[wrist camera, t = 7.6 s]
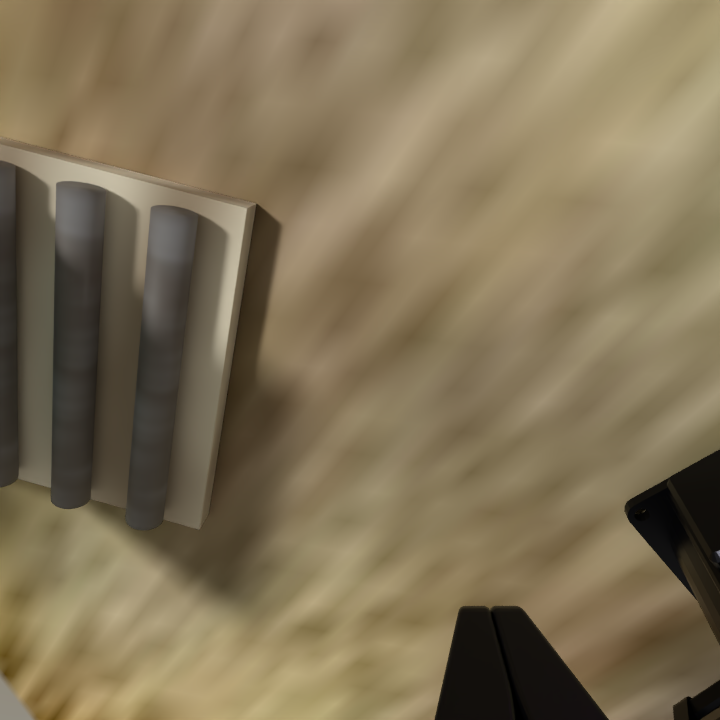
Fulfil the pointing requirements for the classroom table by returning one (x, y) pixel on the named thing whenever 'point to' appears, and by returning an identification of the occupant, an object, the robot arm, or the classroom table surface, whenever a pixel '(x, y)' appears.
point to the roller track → (115, 332)
